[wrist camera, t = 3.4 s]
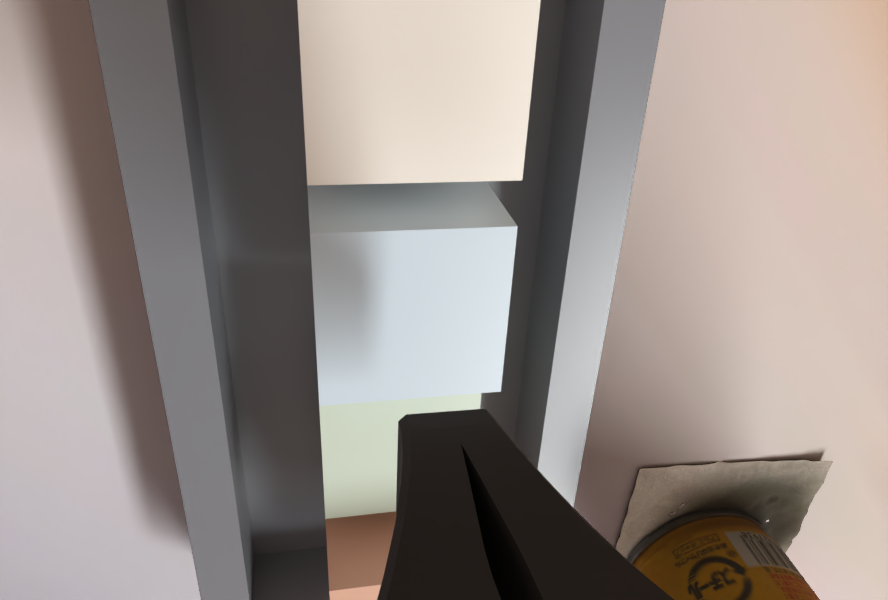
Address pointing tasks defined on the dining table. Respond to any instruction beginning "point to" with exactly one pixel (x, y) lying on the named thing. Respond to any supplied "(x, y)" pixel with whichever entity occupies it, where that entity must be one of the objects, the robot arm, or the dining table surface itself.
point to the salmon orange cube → (358, 554)
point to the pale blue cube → (409, 289)
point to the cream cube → (416, 89)
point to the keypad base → (290, 269)
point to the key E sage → (370, 450)
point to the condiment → (721, 528)
